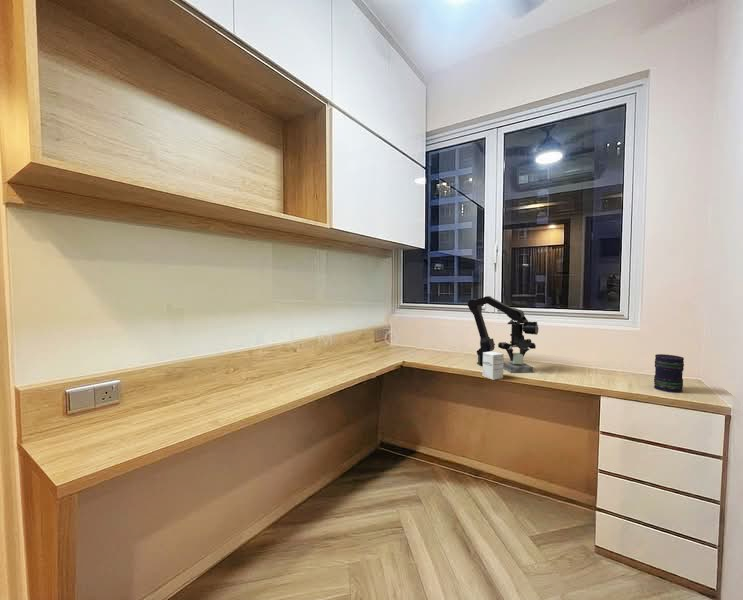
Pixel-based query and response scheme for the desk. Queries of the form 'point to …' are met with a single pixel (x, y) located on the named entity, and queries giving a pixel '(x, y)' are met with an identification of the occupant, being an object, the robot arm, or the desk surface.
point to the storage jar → (668, 373)
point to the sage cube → (517, 358)
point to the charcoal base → (517, 368)
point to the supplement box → (493, 365)
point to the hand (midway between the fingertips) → (516, 360)
